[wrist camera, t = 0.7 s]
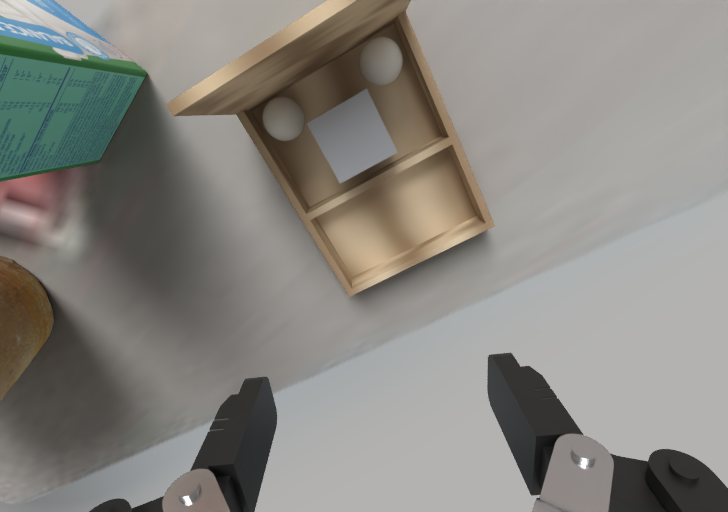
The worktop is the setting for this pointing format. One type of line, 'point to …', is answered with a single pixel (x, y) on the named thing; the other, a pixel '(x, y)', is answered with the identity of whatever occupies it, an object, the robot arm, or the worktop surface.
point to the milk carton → (57, 89)
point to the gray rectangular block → (352, 136)
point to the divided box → (376, 184)
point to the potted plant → (20, 321)
